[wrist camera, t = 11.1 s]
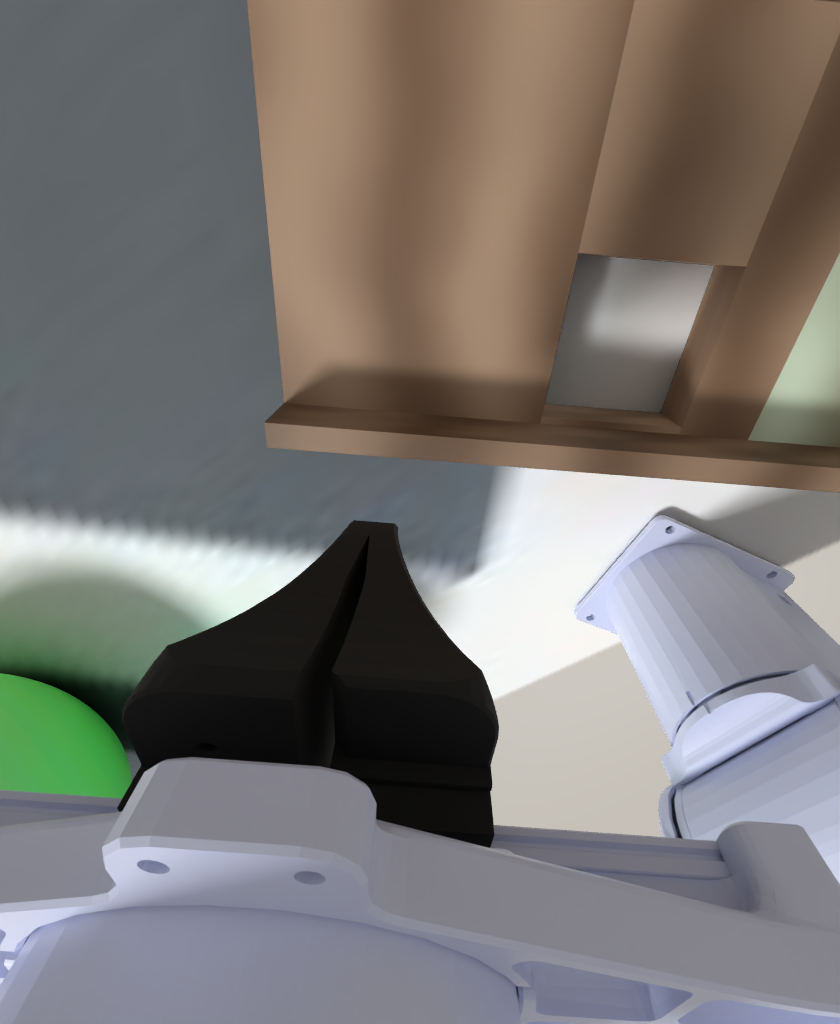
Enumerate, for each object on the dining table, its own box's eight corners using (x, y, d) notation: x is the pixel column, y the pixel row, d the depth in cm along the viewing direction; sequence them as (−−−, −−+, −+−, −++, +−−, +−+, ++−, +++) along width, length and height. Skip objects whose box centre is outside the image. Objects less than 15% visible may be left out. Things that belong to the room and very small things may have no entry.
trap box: (1428, -369, 10) (2164, -831, 6) (875, 457, 21) (990, 509, 17) (230, -485, 10) (72, -1059, 6) (298, 411, 21) (262, 452, 16)
